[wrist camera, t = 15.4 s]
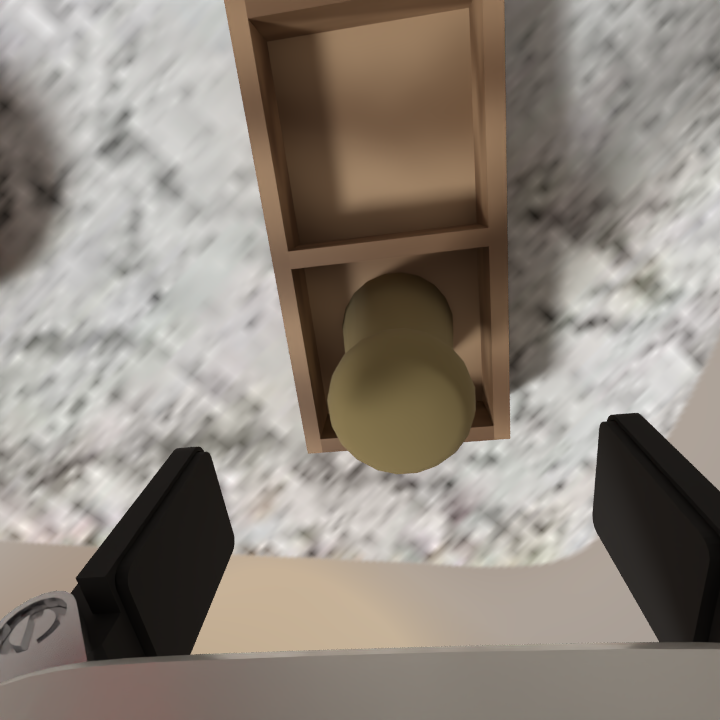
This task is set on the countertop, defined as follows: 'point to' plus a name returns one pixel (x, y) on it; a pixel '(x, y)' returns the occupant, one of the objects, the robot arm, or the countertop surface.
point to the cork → (400, 377)
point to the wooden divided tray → (381, 174)
